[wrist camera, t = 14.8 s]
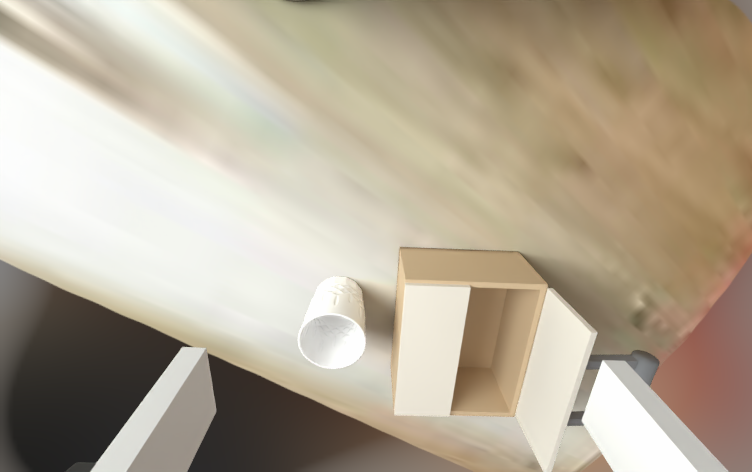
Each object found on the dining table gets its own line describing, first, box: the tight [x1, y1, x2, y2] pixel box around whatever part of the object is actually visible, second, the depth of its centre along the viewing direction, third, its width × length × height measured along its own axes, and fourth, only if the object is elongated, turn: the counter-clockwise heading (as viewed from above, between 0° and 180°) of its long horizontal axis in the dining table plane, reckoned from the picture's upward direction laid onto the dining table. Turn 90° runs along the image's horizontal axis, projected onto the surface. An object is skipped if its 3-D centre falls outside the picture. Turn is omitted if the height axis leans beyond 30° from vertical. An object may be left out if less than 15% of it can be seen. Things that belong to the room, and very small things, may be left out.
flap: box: [515, 288, 659, 472], centre depth 41 cm, size 19×8×10 cm
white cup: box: [298, 276, 366, 369], centre depth 46 cm, size 8×8×10 cm
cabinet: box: [391, 247, 548, 417], centre depth 48 cm, size 20×16×10 cm
